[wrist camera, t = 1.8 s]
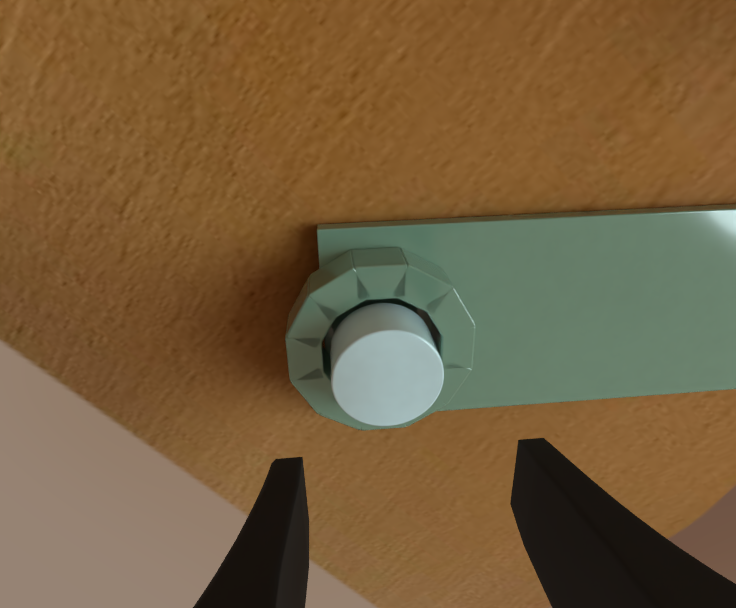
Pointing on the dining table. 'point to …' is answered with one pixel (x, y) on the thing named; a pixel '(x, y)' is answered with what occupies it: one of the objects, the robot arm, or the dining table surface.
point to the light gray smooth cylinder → (384, 365)
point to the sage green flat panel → (534, 303)
